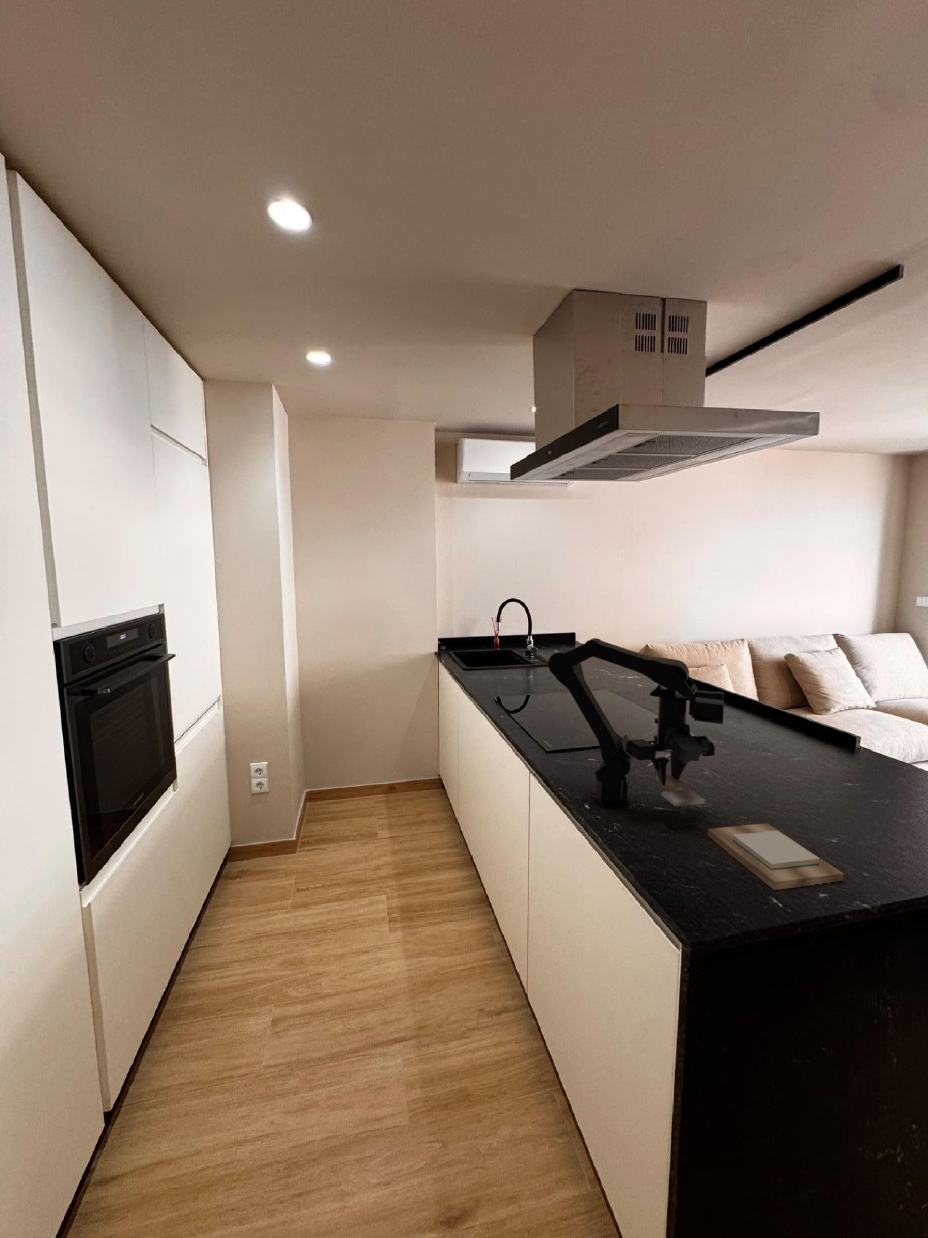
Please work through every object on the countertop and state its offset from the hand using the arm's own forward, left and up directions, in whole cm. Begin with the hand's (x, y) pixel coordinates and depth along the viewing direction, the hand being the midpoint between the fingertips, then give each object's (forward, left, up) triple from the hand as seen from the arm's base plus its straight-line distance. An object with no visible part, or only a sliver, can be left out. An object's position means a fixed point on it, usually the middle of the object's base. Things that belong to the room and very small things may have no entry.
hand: (668, 784), depth 114 cm
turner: (0, -3, -1) cm, 3 cm away
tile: (+10, -20, -5) cm, 23 cm away
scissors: (+18, +32, -8) cm, 37 cm away
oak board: (+10, -19, -7) cm, 23 cm away
